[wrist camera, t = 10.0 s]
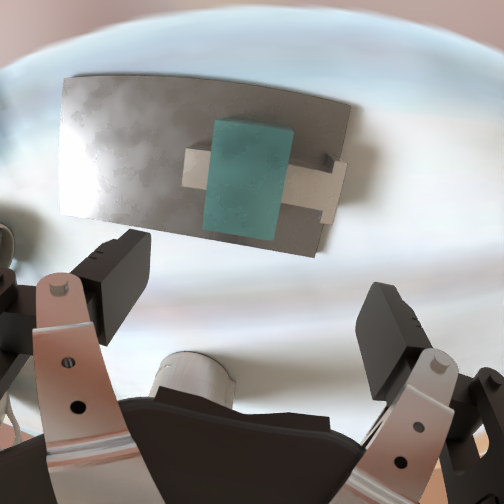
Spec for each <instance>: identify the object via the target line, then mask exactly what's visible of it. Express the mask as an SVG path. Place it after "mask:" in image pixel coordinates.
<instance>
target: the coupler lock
mask: <svg viewBox="0 0 504 504" xmlns="http://www.w3.org/2000/svg"><path fill="white" fill-rule="evenodd" d="M293 135H294V131H293V130H292V129H291V127H290V126H287V125H282V124H276V123H270V122H264V121H257V120H251V119H244V118H237V117H229V116H228V117H224V118H220V119H217V120H215V124H214V131H213V139H212V147H211V154H210V163H209V171H208V180H207V188H206V197H205V207H204V217H203V227H202V230H208V231H215V232H221V233H227V234H233V235H239V236H245V237H251V238H257V239H263V240H269V241H273V240H274V235H275V230H276V225H277V220H278V214H279V209H280V204H281V199H282V194H283V188H284V183H285V178H286V173H287V167H288V162H289V157H290V151H291V146H292V140H293Z"/></svg>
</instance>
